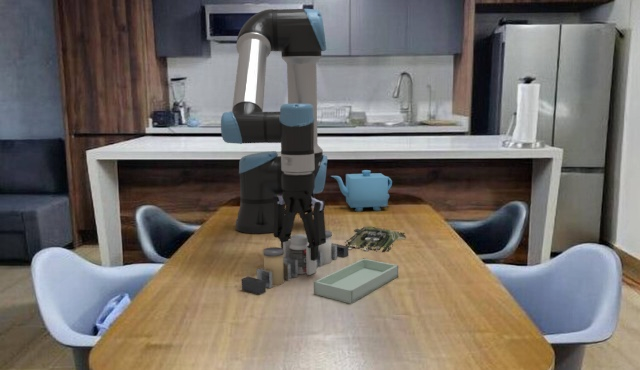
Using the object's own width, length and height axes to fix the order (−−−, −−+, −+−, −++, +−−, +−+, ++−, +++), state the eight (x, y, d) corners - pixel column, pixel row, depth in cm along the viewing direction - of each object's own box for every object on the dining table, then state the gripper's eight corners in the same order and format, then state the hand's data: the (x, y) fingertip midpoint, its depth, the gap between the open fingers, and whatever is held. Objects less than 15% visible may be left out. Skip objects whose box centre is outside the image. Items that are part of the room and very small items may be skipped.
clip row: (241, 289, 113) (241, 271, 113) (332, 252, 139) (332, 237, 139) (259, 294, 110) (258, 276, 110) (348, 255, 136) (348, 240, 136)
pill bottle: (307, 275, 122) (307, 239, 121) (287, 273, 123) (286, 238, 122) (312, 268, 127) (311, 234, 125) (292, 267, 128) (292, 233, 126)
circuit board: (404, 255, 137) (404, 242, 137) (335, 253, 140) (335, 239, 140) (406, 231, 161) (406, 219, 161) (347, 229, 165) (347, 218, 164)
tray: (313, 293, 111) (313, 281, 110) (363, 269, 126) (363, 258, 125) (350, 303, 105) (350, 291, 105) (398, 276, 120) (398, 265, 120)
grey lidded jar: (310, 262, 131) (309, 233, 130) (321, 257, 135) (320, 229, 134) (324, 265, 129) (324, 236, 128) (335, 260, 132) (335, 232, 131)
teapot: (388, 204, 198) (388, 167, 196) (395, 210, 187) (395, 171, 185) (329, 206, 196) (328, 169, 194) (333, 213, 185) (332, 173, 183)
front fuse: (259, 283, 117) (258, 251, 116) (273, 277, 121) (272, 246, 120) (275, 287, 115) (274, 254, 113) (288, 281, 118) (288, 249, 117)
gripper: (255, 171, 124) (258, 267, 127) (322, 177, 112) (323, 283, 116) (277, 167, 130) (279, 259, 133) (342, 173, 118) (342, 273, 122)
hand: (299, 270), depth 125 cm, fingers open, 6 cm apart
